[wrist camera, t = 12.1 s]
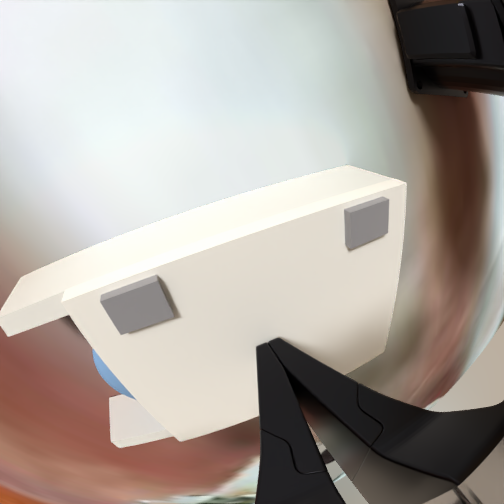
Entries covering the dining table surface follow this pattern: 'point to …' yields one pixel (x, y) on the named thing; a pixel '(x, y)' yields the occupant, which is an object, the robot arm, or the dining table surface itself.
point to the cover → (247, 306)
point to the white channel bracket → (154, 243)
